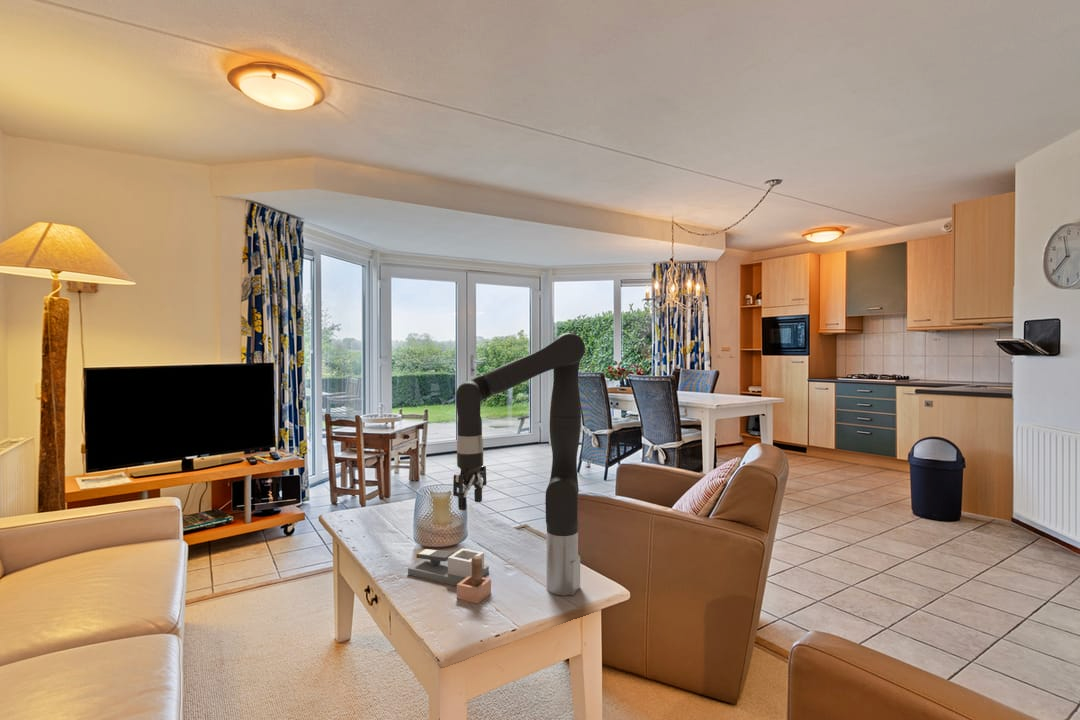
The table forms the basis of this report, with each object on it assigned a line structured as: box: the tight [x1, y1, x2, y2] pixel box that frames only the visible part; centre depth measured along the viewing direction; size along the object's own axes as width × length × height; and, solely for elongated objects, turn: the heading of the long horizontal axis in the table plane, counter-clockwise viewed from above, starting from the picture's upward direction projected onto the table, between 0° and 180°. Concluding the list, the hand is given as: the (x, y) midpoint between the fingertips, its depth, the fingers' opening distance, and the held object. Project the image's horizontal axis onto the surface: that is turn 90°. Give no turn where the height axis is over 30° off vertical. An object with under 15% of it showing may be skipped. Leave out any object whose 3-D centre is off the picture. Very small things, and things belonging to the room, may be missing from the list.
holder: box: [456, 575, 492, 604], centre depth 150 cm, size 7×7×4 cm
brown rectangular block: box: [472, 556, 482, 587], centre depth 149 cm, size 3×3×11 cm
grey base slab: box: [407, 548, 490, 587], centre depth 164 cm, size 22×12×7 cm, turn 65°
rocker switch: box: [415, 548, 455, 562], centre depth 166 cm, size 11×5×1 cm, turn 65°
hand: (470, 505), depth 152 cm, fingers open, 8 cm apart
